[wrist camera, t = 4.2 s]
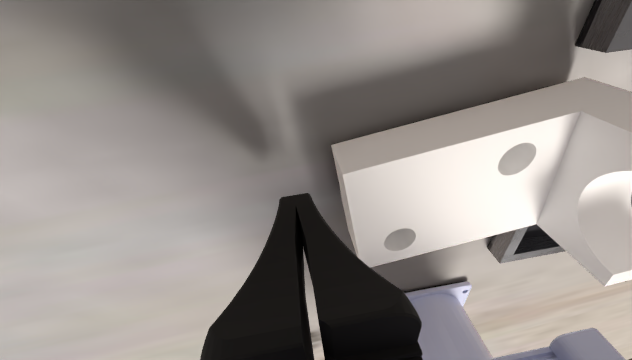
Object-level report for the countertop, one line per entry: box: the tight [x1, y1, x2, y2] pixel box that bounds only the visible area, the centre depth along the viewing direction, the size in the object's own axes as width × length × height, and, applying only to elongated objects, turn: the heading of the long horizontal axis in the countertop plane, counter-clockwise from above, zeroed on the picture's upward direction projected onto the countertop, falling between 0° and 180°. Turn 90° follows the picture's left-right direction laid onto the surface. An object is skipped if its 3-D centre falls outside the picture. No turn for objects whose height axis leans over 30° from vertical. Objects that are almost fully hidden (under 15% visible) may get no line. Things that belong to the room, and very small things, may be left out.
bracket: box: [331, 77, 632, 286], centre depth 14 cm, size 13×7×8 cm, turn 103°
